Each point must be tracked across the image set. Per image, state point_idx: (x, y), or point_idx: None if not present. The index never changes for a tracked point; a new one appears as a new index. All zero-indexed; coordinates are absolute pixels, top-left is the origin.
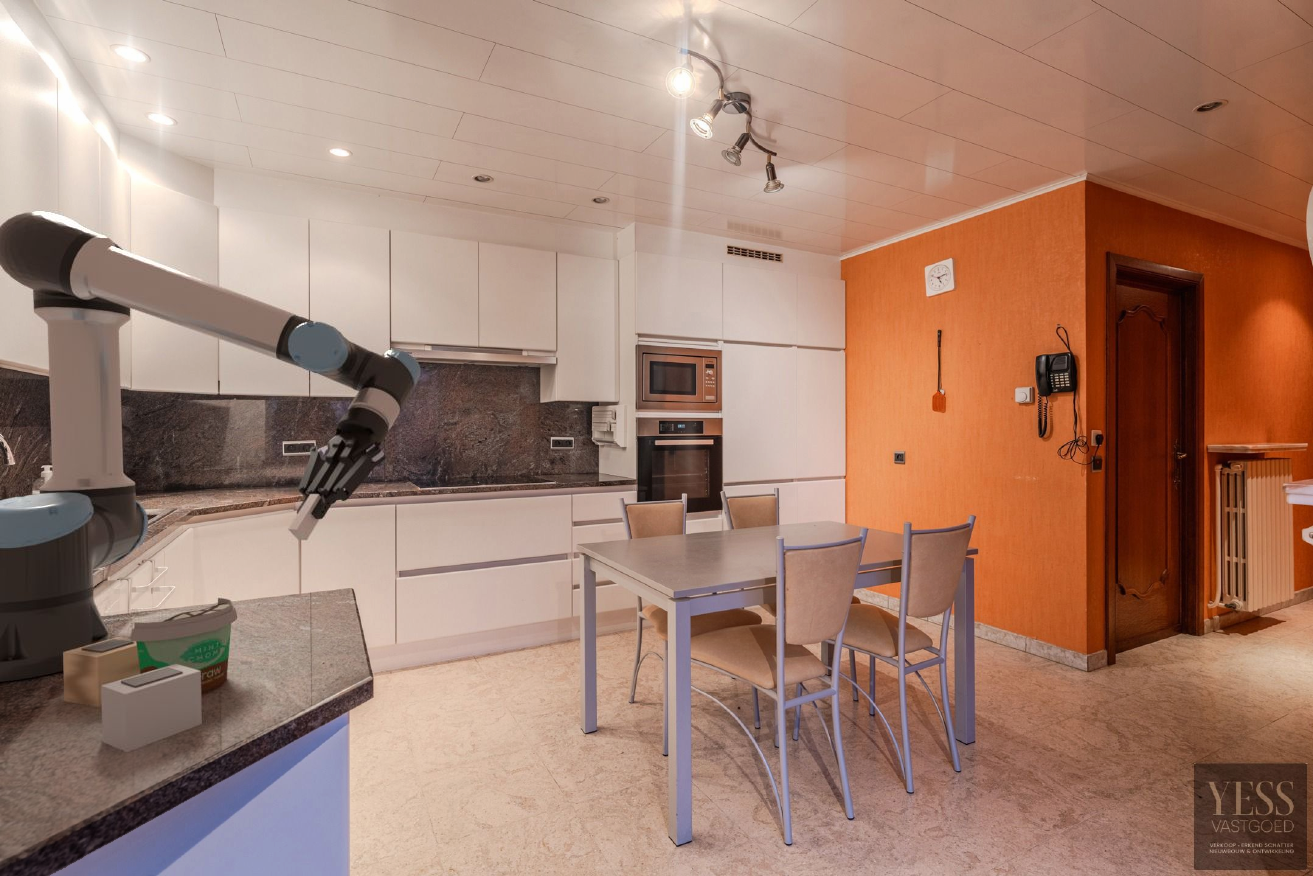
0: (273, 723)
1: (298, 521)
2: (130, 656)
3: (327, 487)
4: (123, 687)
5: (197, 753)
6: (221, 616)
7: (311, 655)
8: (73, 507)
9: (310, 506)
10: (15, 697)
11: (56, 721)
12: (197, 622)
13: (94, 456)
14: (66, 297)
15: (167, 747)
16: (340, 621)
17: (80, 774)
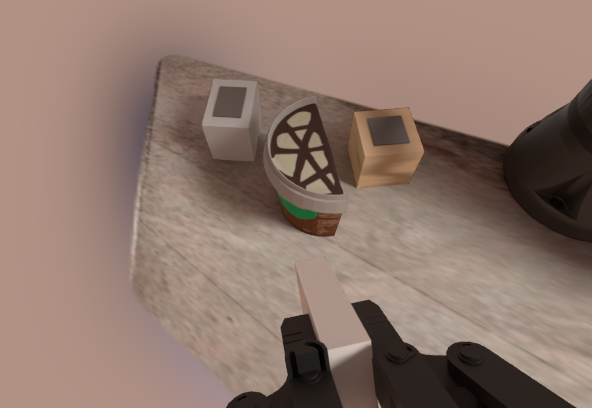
0: (146, 181)
1: (310, 272)
2: (358, 144)
3: (314, 398)
4: (231, 84)
5: (166, 131)
6: (266, 161)
7: (275, 336)
8: None
9: (312, 307)
10: (450, 131)
11: (344, 121)
12: (267, 134)
13: None
14: None
15: (199, 129)
16: None
17: None
